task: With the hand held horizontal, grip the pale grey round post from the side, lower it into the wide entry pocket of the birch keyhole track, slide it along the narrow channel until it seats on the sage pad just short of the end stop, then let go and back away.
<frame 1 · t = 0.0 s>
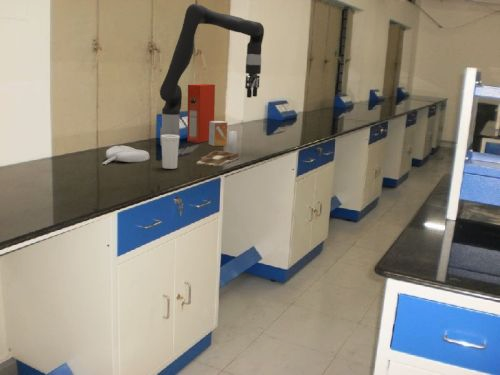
hand: (251, 96, 275), 29 cm above the countertop, tool pointing down, fingers open, 8 cm apart
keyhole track: (217, 161, 261), on the countertop
file binder: (200, 141, 318), on the countertop
small box: (217, 145, 306), on the countertop
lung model: (122, 161, 252), on the countertop
post: (232, 154, 278), on the countertop
cup: (169, 168, 241), on the countertop
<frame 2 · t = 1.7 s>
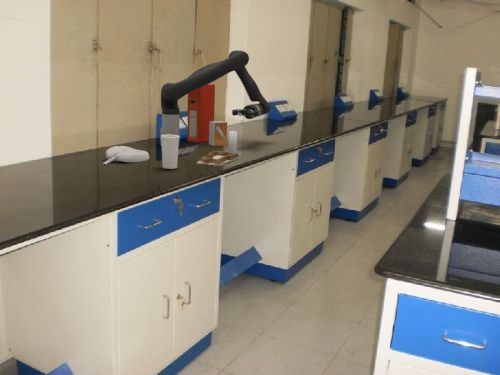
hand: (241, 114, 284), 20 cm above the countertop, tool horizontal, fingers open, 8 cm apart
nothing on the countertop moved.
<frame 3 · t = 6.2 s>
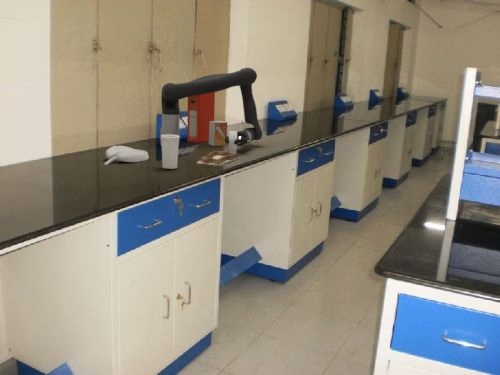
hand: (230, 142, 274), 7 cm above the countertop, tool horizontal, fingers closed on post, 4 cm apart
post: (232, 154, 278), on the countertop, touching gripper
everything else where it was.
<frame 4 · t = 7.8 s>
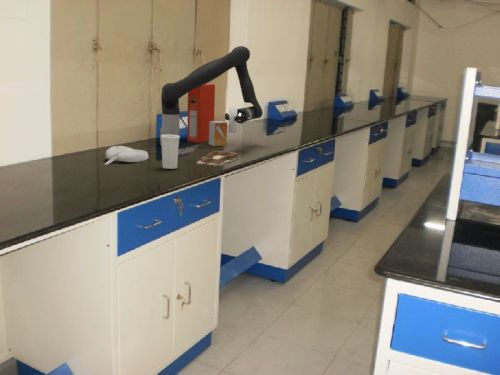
hand: (231, 118, 270), 19 cm above the countertop, tool horizontal, fingers closed on post, 4 cm apart
post: (232, 132, 275), point 12 cm above the countertop, touching gripper
everything else where it was.
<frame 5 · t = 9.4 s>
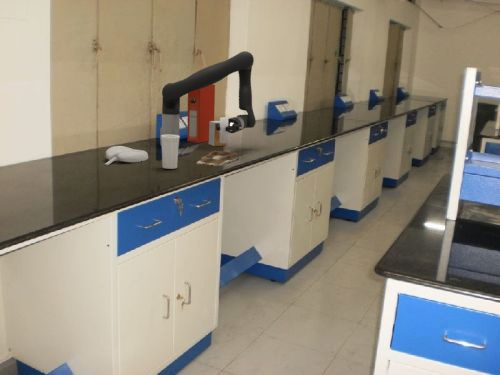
hand: (221, 128, 260), 15 cm above the countertop, tool horizontal, fingers closed on post, 4 cm apart
post: (223, 142, 264), point 8 cm above the countertop, touching gripper
everything else where it was.
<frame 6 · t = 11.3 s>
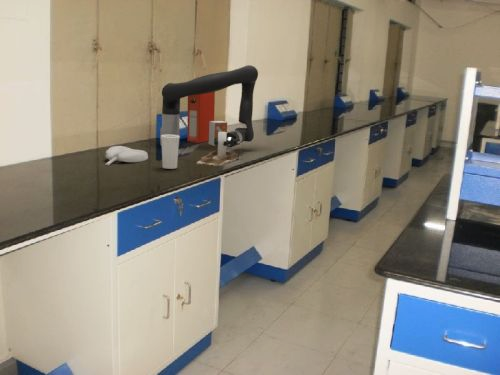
hand: (220, 143, 260), 8 cm above the countertop, tool horizontal, fingers closed on post, 4 cm apart
post: (221, 157, 265), point 1 cm above the countertop, touching gripper
when the fingers open (8 cm above the countertop, at t = 13.8 s): post stays where it is, resting on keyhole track.
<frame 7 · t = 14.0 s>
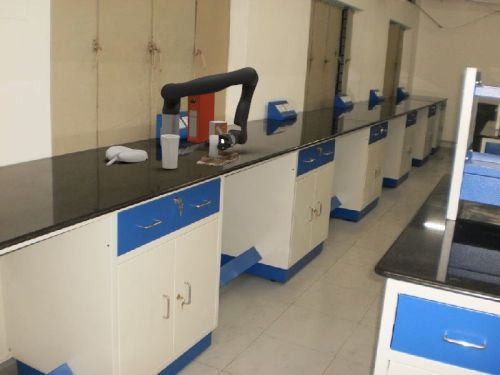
hand: (211, 146, 251), 8 cm above the countertop, tool horizontal, fingers open, 6 cm apart
post: (213, 161, 256), point 1 cm above the countertop, touching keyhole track
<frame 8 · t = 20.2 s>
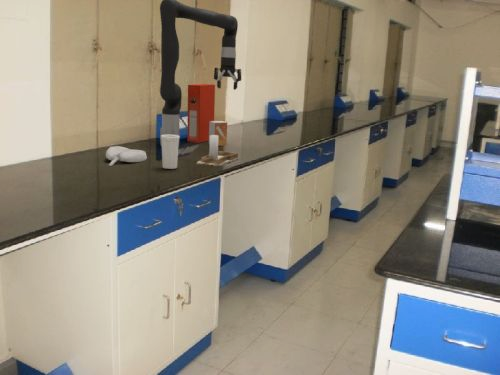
hand: (227, 88, 282), 32 cm above the countertop, tool pointing down, fingers open, 8 cm apart
at the end: post inside the target area (0.1 cm from its centre), point 0.9 cm above the countertop; post tilted 0°; the gripper is holding nothing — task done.
